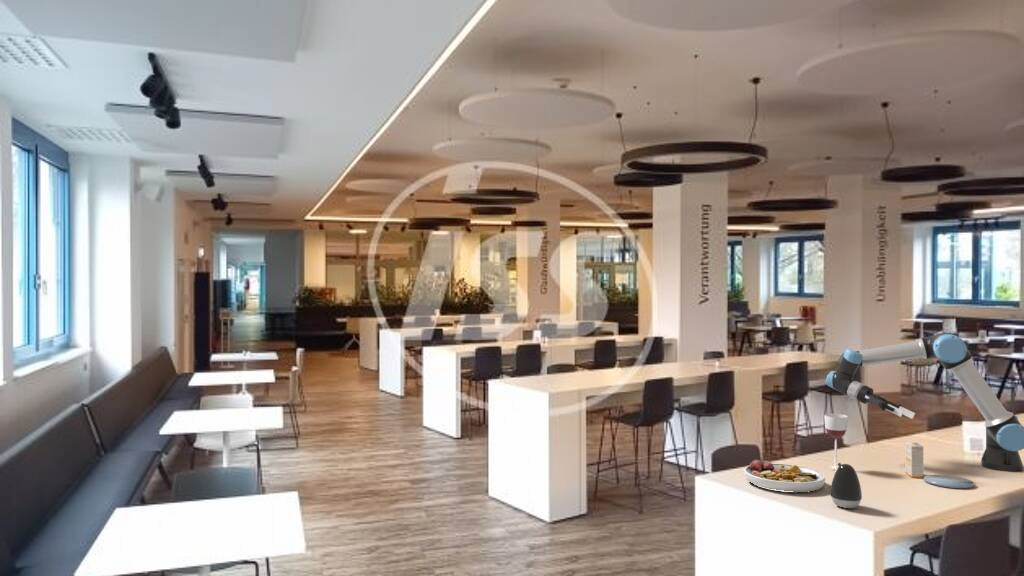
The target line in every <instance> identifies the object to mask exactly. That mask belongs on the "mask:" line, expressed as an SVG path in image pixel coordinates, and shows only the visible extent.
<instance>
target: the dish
mask: <svg viewBox="0 0 1024 576" xmlns="http://www.w3.org/2000/svg"><path fill="white" fill-rule="evenodd" d="M923 480H924V482H925V483H928V484H931V485H934V486H938V487H943V488H944V487H945V488H950V489H951V488H952V489H971V488H973V487H974V486H975V484H974V482H973V480H971V479H967V478H964V477H960V476H955V475H950V474H927V475H923Z"/></svg>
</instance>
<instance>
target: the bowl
mask: <svg viewBox="0 0 1024 576" xmlns="http://www.w3.org/2000/svg"><path fill="white" fill-rule="evenodd" d="M743 473H744V477H745V479H746V481H748V483H750V482H751V483H753V484H755V485H758V486H761V487H765V488H769V489H776V490H784V491H793V492H808V491H813V492H816V491H818V490H820V489H821V488H822V487H823V486H824V485H825V483H826V476H825V474H824V473H822V472H820V471H818V470H816V469H813V468H809V467H805V466H799V465H797V464H786V463H772V462H771V461H769V460H763V461H761V460H760V459H754V460H752V461H750V463H749V465H747V466H746V467H745V468H744V469H743ZM751 483H750V484H751ZM815 490H816V491H815ZM808 493H809V492H808Z"/></svg>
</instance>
